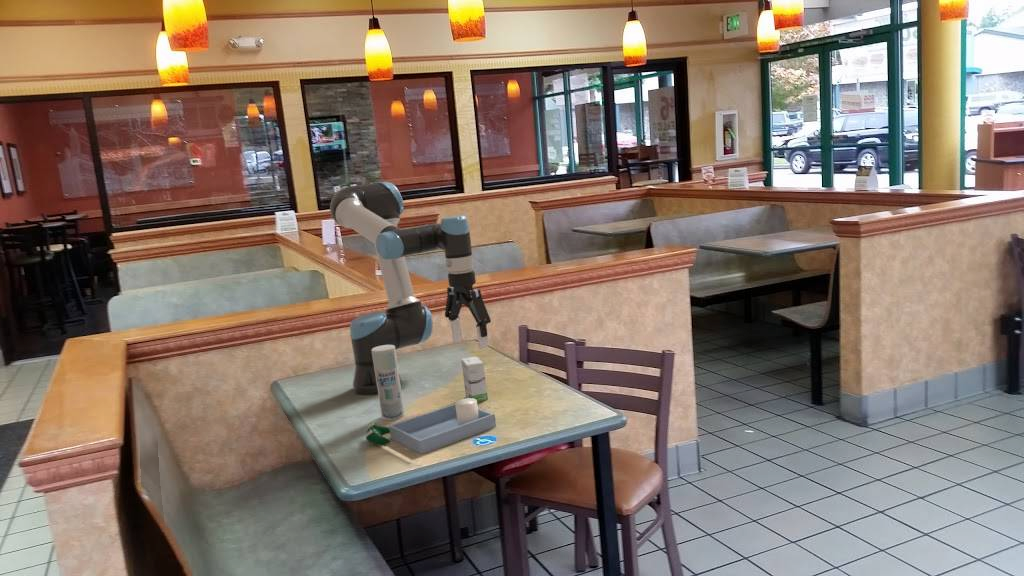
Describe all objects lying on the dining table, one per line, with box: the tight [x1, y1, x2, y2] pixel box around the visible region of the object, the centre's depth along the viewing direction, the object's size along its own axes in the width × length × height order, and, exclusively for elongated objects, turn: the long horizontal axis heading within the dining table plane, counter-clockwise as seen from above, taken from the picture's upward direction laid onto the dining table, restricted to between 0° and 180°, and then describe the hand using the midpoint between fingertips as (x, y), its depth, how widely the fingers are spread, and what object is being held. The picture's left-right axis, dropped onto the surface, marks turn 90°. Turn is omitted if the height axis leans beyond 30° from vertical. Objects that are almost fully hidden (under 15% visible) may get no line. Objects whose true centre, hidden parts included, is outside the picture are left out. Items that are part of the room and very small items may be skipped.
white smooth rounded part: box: [454, 397, 479, 426], centre depth 195 cm, size 6×6×7 cm
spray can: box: [371, 345, 405, 422], centre depth 211 cm, size 6×6×20 cm
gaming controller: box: [365, 421, 391, 447], centre depth 196 cm, size 9×4×6 cm
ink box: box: [461, 356, 489, 403], centre depth 218 cm, size 9×5×12 cm, turn 16°
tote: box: [388, 403, 497, 455], centre depth 194 cm, size 16×22×4 cm
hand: (470, 344), depth 216 cm, fingers open, 13 cm apart
